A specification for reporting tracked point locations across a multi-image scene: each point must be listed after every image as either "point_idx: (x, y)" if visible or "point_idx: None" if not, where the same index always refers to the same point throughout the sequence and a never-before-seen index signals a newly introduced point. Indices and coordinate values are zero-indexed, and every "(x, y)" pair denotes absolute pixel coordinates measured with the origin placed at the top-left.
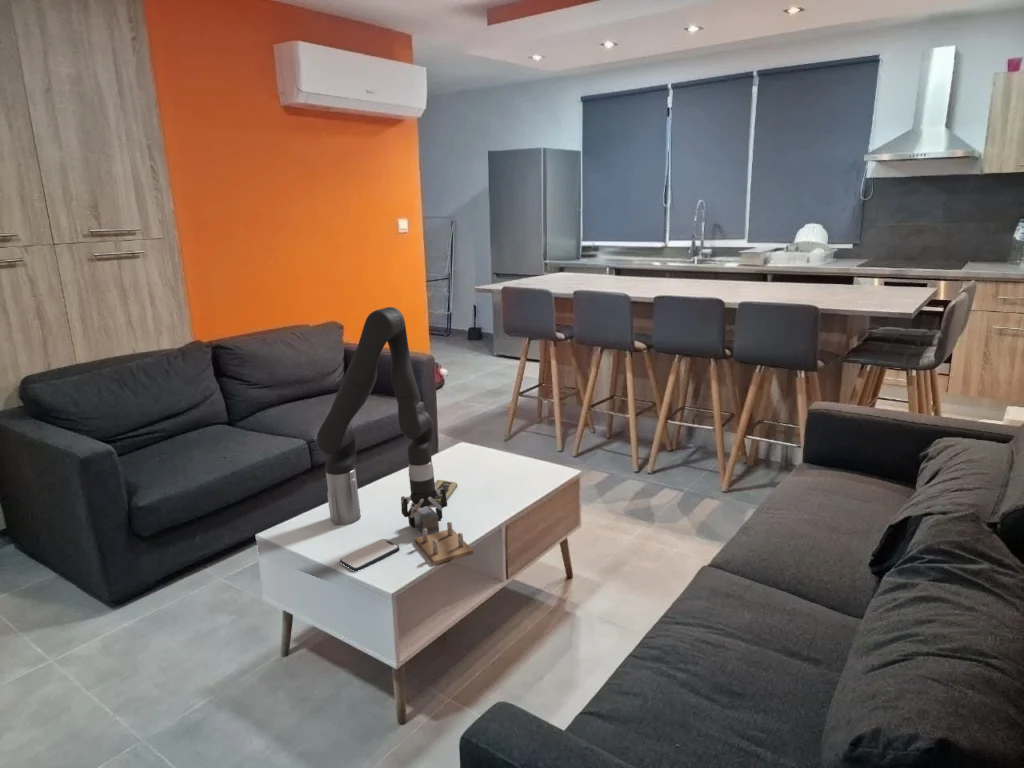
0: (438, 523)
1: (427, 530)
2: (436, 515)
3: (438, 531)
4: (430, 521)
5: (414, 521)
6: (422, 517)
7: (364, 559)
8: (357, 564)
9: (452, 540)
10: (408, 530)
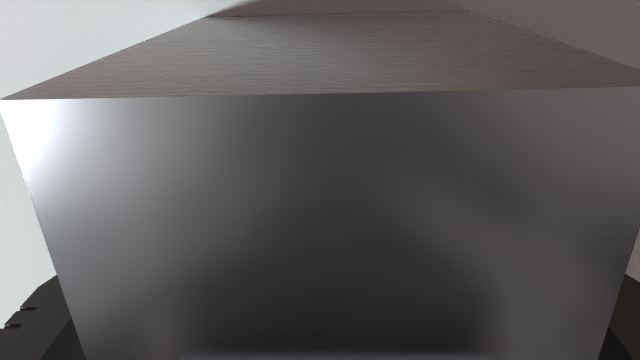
0: (141, 43)
1: (413, 20)
2: (51, 99)
3: (209, 21)
4: (332, 58)
5: None
6: (586, 221)
7: None
8: None
9: None
10: None
